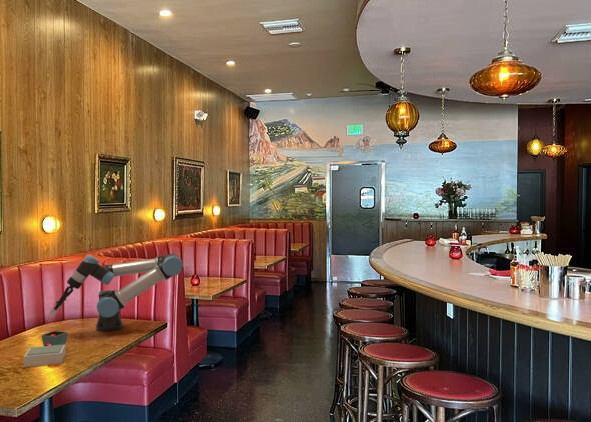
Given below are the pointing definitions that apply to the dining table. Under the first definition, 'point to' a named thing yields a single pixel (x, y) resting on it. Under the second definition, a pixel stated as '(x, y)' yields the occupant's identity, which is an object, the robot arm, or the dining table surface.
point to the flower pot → (55, 338)
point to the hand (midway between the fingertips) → (53, 311)
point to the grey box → (44, 355)
